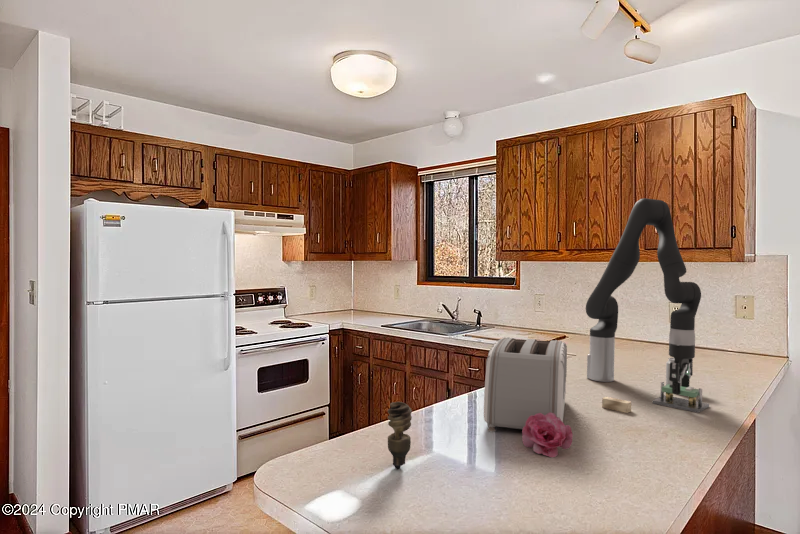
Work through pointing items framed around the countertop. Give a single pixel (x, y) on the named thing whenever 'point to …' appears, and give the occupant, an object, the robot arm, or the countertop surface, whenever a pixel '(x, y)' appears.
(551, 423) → the flower
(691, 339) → the robot arm
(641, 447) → the countertop surface
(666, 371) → the can
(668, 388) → the board
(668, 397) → the chassis
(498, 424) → the toaster
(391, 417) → the light bulb
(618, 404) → the beige wooden block
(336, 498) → the countertop surface
